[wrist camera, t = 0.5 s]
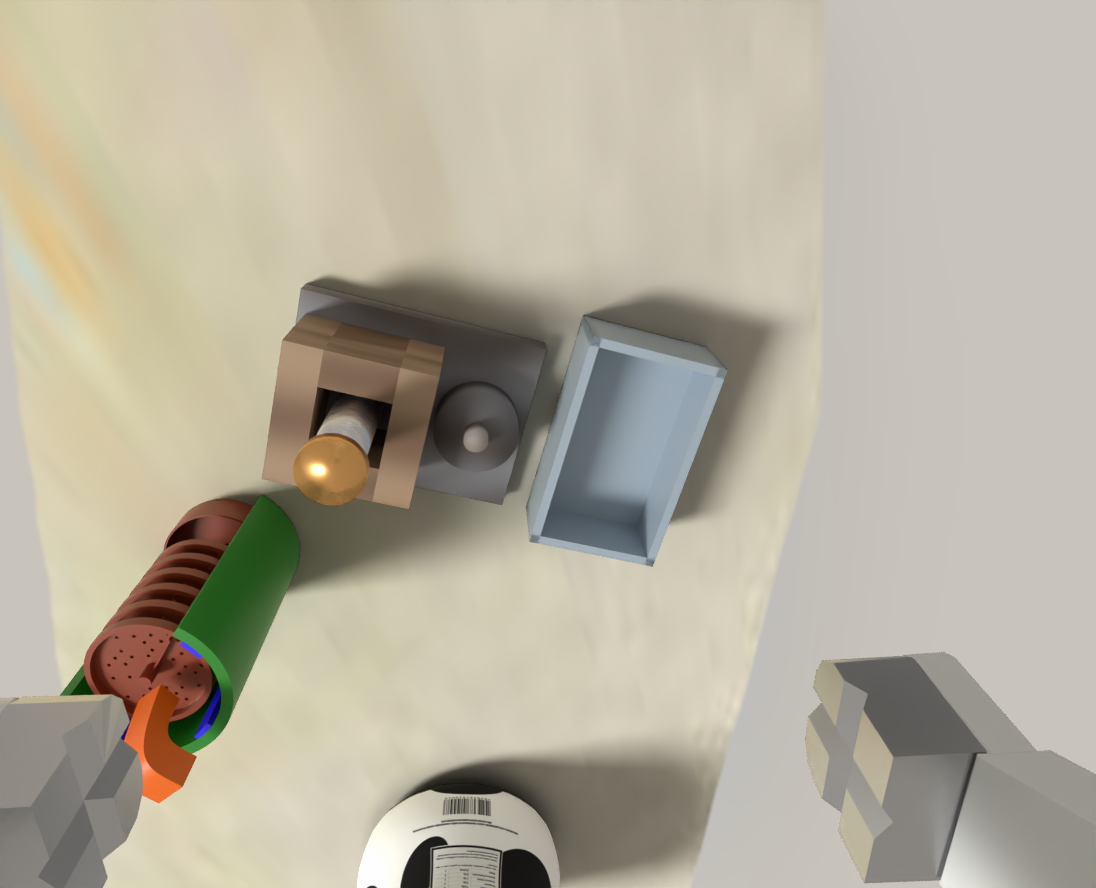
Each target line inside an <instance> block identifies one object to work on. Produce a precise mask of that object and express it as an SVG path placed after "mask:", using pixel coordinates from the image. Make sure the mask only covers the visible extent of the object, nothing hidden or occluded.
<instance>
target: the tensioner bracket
mask: <svg viewBox="0 0 1096 888" xmlns="http://www.w3.org/2000/svg"><path fill="white" fill-rule="evenodd" d="M545 353H546V345H545V343H543V342H539V341H535V340H531V339H527V338H523V337H519V336H515V335H511V334H507V333H503V332H499V331H494V330H490V329H486V328H482V327H478V326H474V325H470V324H466V323H462V322H458V321H454V320H450V319H446V318H442V317H438V316H434V315H430V314H426V313H422V312H418V311H414V310H410V309H406V308H402V307H398V306H394V305H390V304H386V303H382V302H378V301H374V300H370V299H366V298H362V297H358V296H354V295H350V294H346V293H342V292H338V291H334V290H330V289H326V288H322V287H318V286H314V285H310V284H305V285H304V286H303V287H302V288H301V292H300V298H299V305H298V312H297V318H296V325H295V326H294V327H293V328H292V330H291V331H290V332H289V333H288V334H287V335H286V336H285V338H284V339H283V340H282V346H281V353H280V359H279V366H278V373H277V380H276V387H275V394H274V400H273V407H272V414H271V421H270V428H269V435H268V441H267V448H266V455H265V462H264V469H263V476H262V479H264V480H268V481H273V482H278V483H283V484H288V485H293V486H297V485H296V483H295V480H294V476H293V465H294V461H295V459H296V457H297V455H298V453H299V451H300V449H301V448H302V446H303V445H304V444H305V443H306V442H307V441H308V440H309V439H311V438H312V437H314V436H316V435H317V433H318V431H319V429H320V428H321V426H322V424H323V422H324V420H325V418H326V416H327V414H328V412H329V410H330V408H331V406H332V404H333V402H334V400H335V399H336V397H337V395H338V393H339V392H342V393H346V394H351V395H355V396H360V397H364V398H368V399H373V400H377V401H382V402H385V405H384V408H383V411H382V414H381V417H380V420H379V423H378V426H377V429H376V431H375V434H374V437H373V440H372V443H371V446H370V449H369V452H368V455H367V457H368V460H369V468H370V469H369V475H368V478H367V481H366V484H365V487H364V489H363V490H362V492H361V493H360V494H359V496H357V497H356V498H357V499H362V500H366V501H371V502H376V503H381V504H386V505H391V506H396V507H401V508H406V509H409V507H410V502H411V498H412V494H413V489H414V487H418V488H423V489H428V490H433V491H437V492H442V493H447V494H452V495H456V496H461V497H466V498H471V499H476V500H480V501H485V502H490V503H495V504H499V505H502V504H503V500H504V497H505V493H506V490H507V486H508V483H509V479H510V476H511V472H512V469H513V465H514V462H515V458H516V455H517V451H518V448H519V444H520V441H521V437H522V434H523V430H524V427H525V423H526V420H527V416H528V413H529V409H530V406H531V402H532V399H533V395H534V392H535V388H536V385H537V381H538V378H539V374H540V371H541V367H542V363H543V360H544V356H545Z"/></svg>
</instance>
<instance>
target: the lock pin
mask: <svg viewBox="0 0 1096 888" xmlns="http://www.w3.org/2000/svg"><path fill="white" fill-rule="evenodd" d="M384 405H385V402H382V401H377V400H373V399H368V398H364V397H360V396H355V395H351V394H346V393H342V392H339V393H338V395H337V397H336V399H335V400H334V402H333V404H332V406H331V408H330V410H329V412H328V414H327V416H326V418H325V420H324V422H323V424H322V426H321V428H320V429H319V431H318V433H317V435H316V436H314V437H312V438H311V439H309V440H308V441H307V442H306V443H305V444H304V445H303V446H302V448H301V449H300V451H299V453H298V455H297V457H296V459H295V461H294V465H293V476H294V480H295V483H296V485H297V487H298V488H299V489H300V491H301V492H302V493H303V494H304V495H305V496H306V497H308V498H309V499H311V500H313V501H315V502H317V503H320V504H324V505H333V506H334V505H342V504H345V503H348V502H350V501H352V500H354V499H355V498H356V497H357V496H359V494H360V493H361V492H362V490H363V489H364V487H365V484H366V481H367V478H368V475H369V469H370V468H369V460H368V457H367V455H368V452H369V449H370V446H371V443H372V440H373V437H374V434H375V431H376V429H377V426H378V423H379V420H380V417H381V414H382V411H383V408H384Z"/></svg>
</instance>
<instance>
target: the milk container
mask: <svg viewBox="0 0 1096 888" xmlns="http://www.w3.org/2000/svg"><path fill="white" fill-rule="evenodd" d="M357 888H560V871H559V863H558V858H557V853H556V849H555V846H554V842H553V839H552V836H551V834H550V831H549V829H548V827H547V825H546V824H545V822H544V821H543V819H542V818H541V817H540V816H539V815H538V813H537V812H536V811H535V810H534V809H533V807H532V806H531V805H529V804H528V803H527V802H525V801H524V800H522V799H520V798H519V797H517V796H515V795H513V794H511V793H509V792H507V791H504V790H501V789H498V788H494V787H489V786H485V785H479V784H449V785H442V786H437V787H434V788H430V789H427V790H424V791H420V792H418V793H415V794H413V795H411V796H409V797H407V798H406V799H404V800H403V801H401V802H400V803H398V804H397V805H395V806H394V807H393V808H391V809H390V810H389V811H388V812H387V814H386V815H385V816H384V817H383V818H382V819H381V820H380V822H379V823H378V824H377V826H376V827H375V829H374V830H373V832H372V834H371V836H370V839H369V841H368V844H367V846H366V849H365V852H364V854H363V858H362V861H361V865H360V869H359V874H358V882H357Z"/></svg>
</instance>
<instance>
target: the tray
mask: <svg viewBox="0 0 1096 888" xmlns="http://www.w3.org/2000/svg"><path fill="white" fill-rule="evenodd" d="M727 371H728V370H727V369H726V368H725V366H724V365H723V364H722V363H721V362H720V361H719V360H718V359H717V357H716V356H715V355H714V354H713V353H712V352H711V351H710V350H709V348H708V347H704V346H701V345H697V344H693V343H689V342H685V341H681V340H677V339H673V338H669V337H666V336H662V335H658V334H654V333H650V332H646V331H642V330H638V329H635V328H631V327H627V326H623V325H619V324H615V323H611V322H607V321H604V320H600V319H596V318H592V317H588V316H584V315H583V319H582V322H581V325H580V329H579V332H578V335H577V339H576V342H575V345H574V349H573V352H572V355H571V359H570V362H569V365H568V369H567V372H566V375H565V379H564V382H563V385H562V389H561V392H560V395H559V399H558V402H557V406H556V409H555V412H554V416H553V419H552V422H551V426H550V429H549V432H548V436H547V439H546V442H545V446H544V449H543V452H542V456H541V459H540V462H539V466H538V469H537V472H536V476H535V479H534V482H533V486H532V489H531V492H530V496H529V499H528V503H527V506H526V509H527V520H528V531H529V542H534V543H539V544H544V545H549V546H553V547H558V548H563V549H568V550H573V551H578V552H583V553H588V554H593V555H598V556H603V557H608V558H613V559H618V560H623V561H628V562H632V563H637V564H642V565H647V566H652V567H653V564H654V561H655V559H656V556H657V554H658V551H659V548H660V546H661V543H662V541H663V538H664V535H665V533H666V530H667V528H668V525H669V522H670V520H671V517H672V515H673V512H674V509H675V507H676V504H677V502H678V499H679V496H680V494H681V491H682V489H683V486H684V483H685V481H686V478H687V476H688V473H689V470H690V468H691V465H692V462H693V460H694V457H695V455H696V452H697V449H698V447H699V444H700V442H701V439H702V436H703V434H704V431H705V429H706V426H707V423H708V421H709V418H710V416H711V413H712V410H713V408H714V405H715V403H716V400H717V397H718V395H719V392H720V390H721V387H722V384H723V382H724V379H725V377H726V374H727Z"/></svg>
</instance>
